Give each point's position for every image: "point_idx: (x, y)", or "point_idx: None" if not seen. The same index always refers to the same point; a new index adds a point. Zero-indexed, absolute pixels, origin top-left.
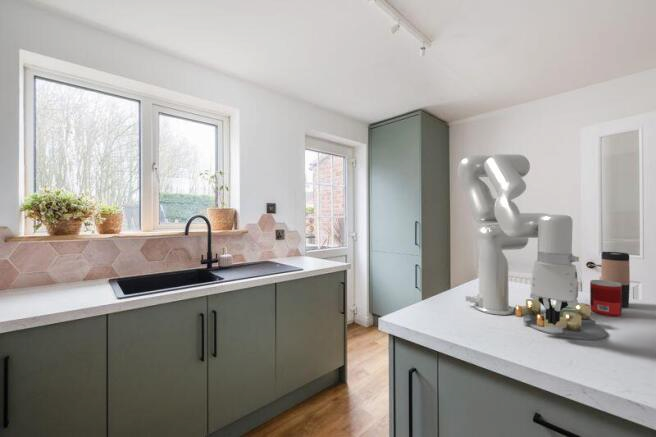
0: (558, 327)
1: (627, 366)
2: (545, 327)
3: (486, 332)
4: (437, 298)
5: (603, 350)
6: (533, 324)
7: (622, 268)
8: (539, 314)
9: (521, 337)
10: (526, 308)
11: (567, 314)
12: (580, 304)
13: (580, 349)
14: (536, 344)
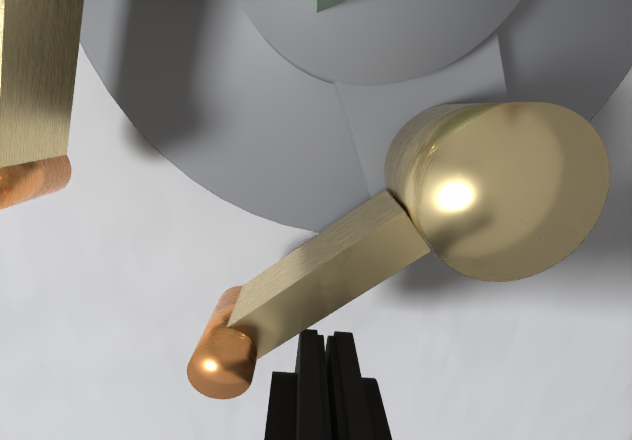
0: (347, 125)
1: (580, 409)
2: (263, 155)
3: (22, 405)
4: None
5: (541, 293)
6: (178, 137)
7: None
8: (207, 360)
9: (180, 366)
10: (8, 66)
11: (460, 248)
12: None
13: (437, 347)
14: (258, 406)
